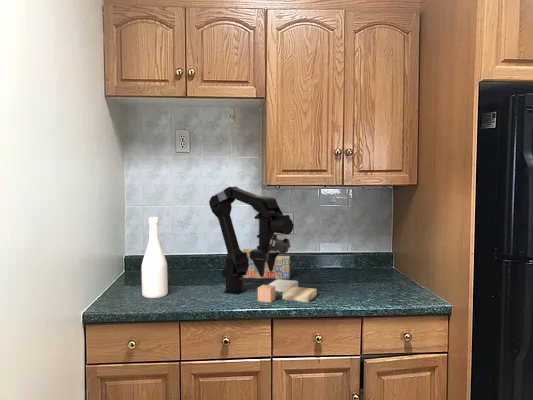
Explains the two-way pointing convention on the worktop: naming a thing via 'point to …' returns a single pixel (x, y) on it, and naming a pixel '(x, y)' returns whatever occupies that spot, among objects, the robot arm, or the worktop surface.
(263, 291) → the terracotta cube
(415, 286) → the worktop surface
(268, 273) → the stack of blocks
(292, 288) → the birch slab
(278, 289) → the white plastic slab
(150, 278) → the wine bottle
